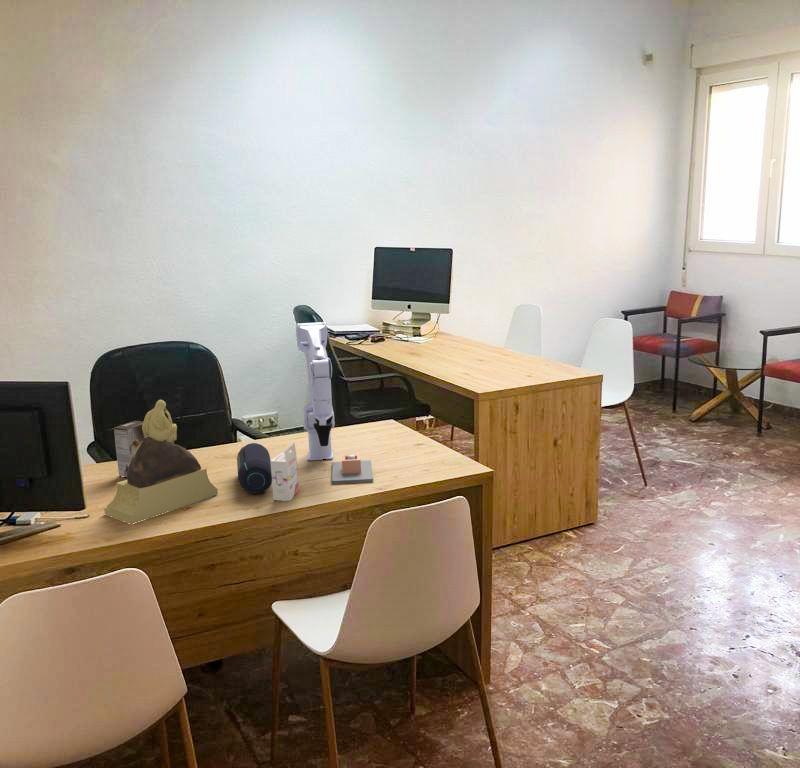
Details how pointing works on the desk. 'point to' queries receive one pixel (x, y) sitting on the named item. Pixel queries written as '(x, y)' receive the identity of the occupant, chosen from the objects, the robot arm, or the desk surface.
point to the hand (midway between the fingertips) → (324, 442)
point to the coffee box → (127, 443)
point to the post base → (352, 477)
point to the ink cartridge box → (285, 475)
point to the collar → (351, 464)
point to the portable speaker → (254, 468)
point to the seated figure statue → (159, 474)
